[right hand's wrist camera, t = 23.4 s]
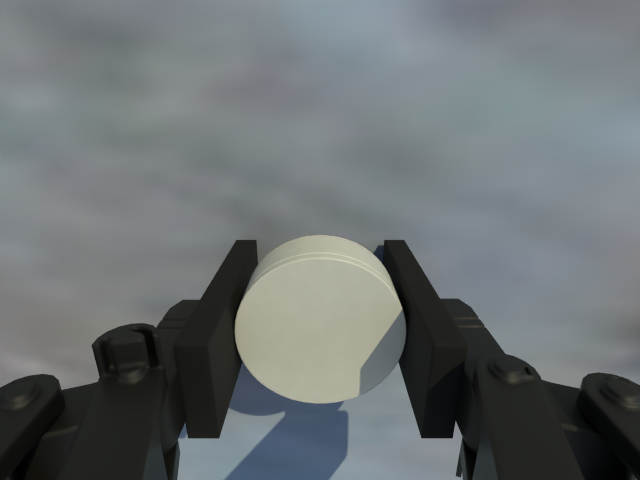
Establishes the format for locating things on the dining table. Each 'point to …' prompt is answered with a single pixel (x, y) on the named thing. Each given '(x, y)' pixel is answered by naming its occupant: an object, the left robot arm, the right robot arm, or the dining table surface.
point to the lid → (320, 321)
